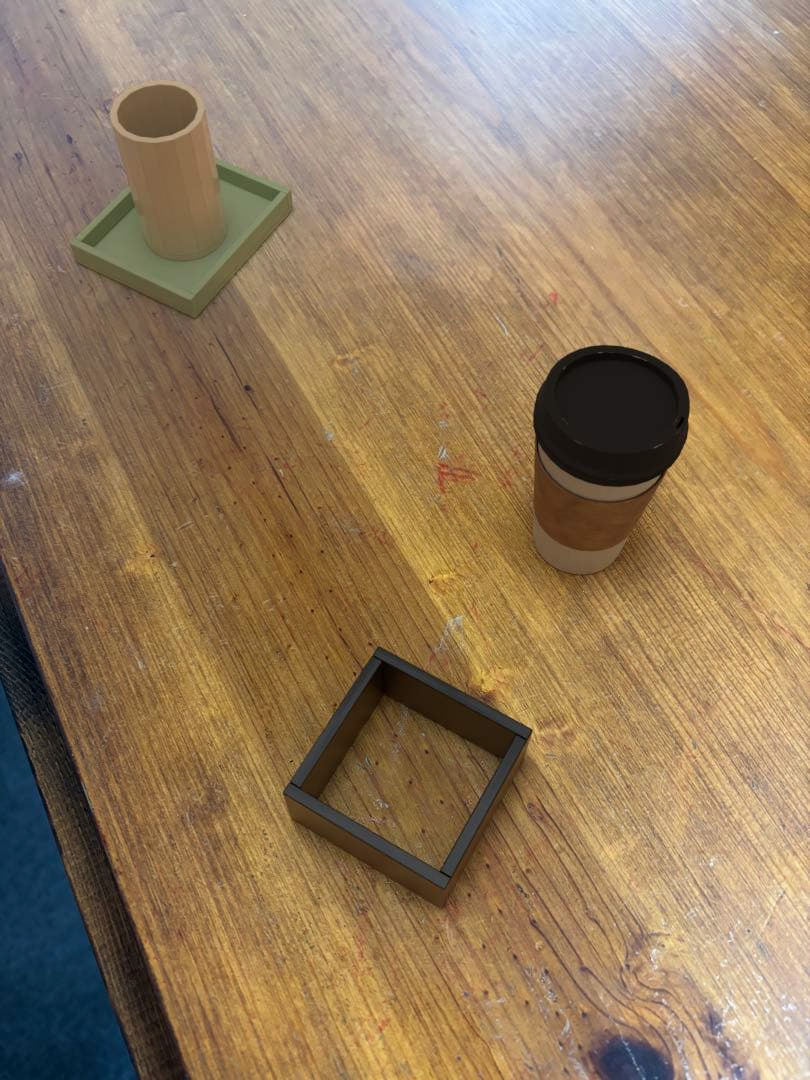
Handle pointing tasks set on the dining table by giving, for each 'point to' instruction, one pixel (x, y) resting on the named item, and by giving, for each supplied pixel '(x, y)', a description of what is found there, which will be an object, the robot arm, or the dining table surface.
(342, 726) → the open square frame
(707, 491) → the dining table surface
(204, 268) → the tray
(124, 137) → the cup
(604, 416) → the coffee cup
